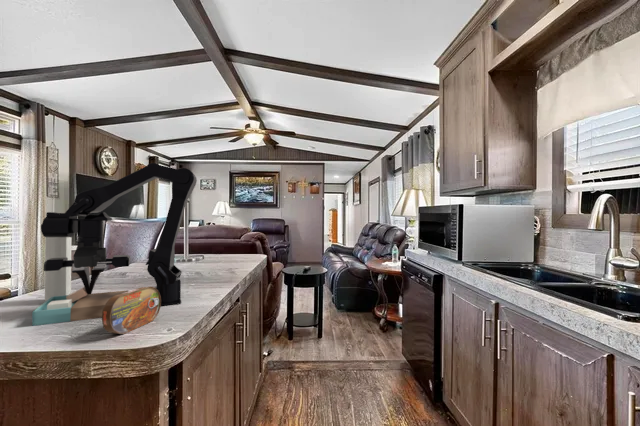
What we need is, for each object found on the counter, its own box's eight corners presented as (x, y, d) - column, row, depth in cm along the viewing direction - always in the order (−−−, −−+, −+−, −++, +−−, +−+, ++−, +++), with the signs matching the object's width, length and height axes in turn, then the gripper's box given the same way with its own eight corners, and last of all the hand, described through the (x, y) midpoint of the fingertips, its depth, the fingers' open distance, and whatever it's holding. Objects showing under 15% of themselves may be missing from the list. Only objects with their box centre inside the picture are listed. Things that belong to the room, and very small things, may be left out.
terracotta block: (89, 291, 90) (85, 285, 89) (86, 295, 86) (82, 289, 86) (73, 299, 88) (69, 293, 88) (70, 303, 84) (65, 297, 84)
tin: (111, 340, 65) (111, 298, 65) (98, 339, 65) (98, 297, 65) (162, 317, 79) (162, 283, 80) (151, 316, 80) (151, 282, 80)
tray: (83, 305, 90) (83, 293, 90) (70, 321, 76) (70, 307, 76) (51, 308, 87) (51, 296, 87) (32, 325, 73) (32, 311, 73)
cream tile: (71, 307, 81) (71, 299, 81) (68, 311, 78) (68, 302, 78) (51, 309, 79) (51, 301, 79) (46, 313, 76) (47, 305, 76)
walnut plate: (128, 300, 96) (128, 290, 96) (124, 314, 81) (124, 302, 81) (83, 305, 90) (83, 294, 90) (70, 321, 76) (70, 308, 76)
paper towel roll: (49, 299, 97) (50, 228, 97) (73, 297, 99) (74, 228, 99) (39, 305, 90) (40, 229, 90) (65, 303, 92) (66, 229, 93)
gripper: (37, 240, 77) (36, 305, 76) (127, 238, 85) (127, 296, 85) (50, 237, 87) (49, 295, 86) (130, 235, 95) (129, 288, 95)
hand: (89, 293), depth 88 cm, fingers closed
